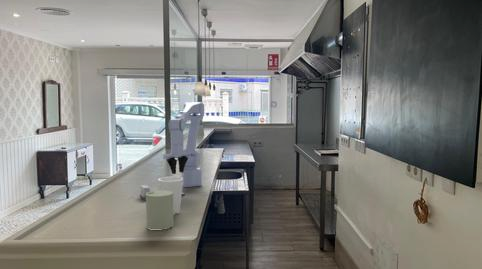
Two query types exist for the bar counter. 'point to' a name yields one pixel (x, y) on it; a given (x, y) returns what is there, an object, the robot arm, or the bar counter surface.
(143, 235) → the bar counter surface
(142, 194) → the plate
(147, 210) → the can
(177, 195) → the foam cup
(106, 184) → the bar counter surface
